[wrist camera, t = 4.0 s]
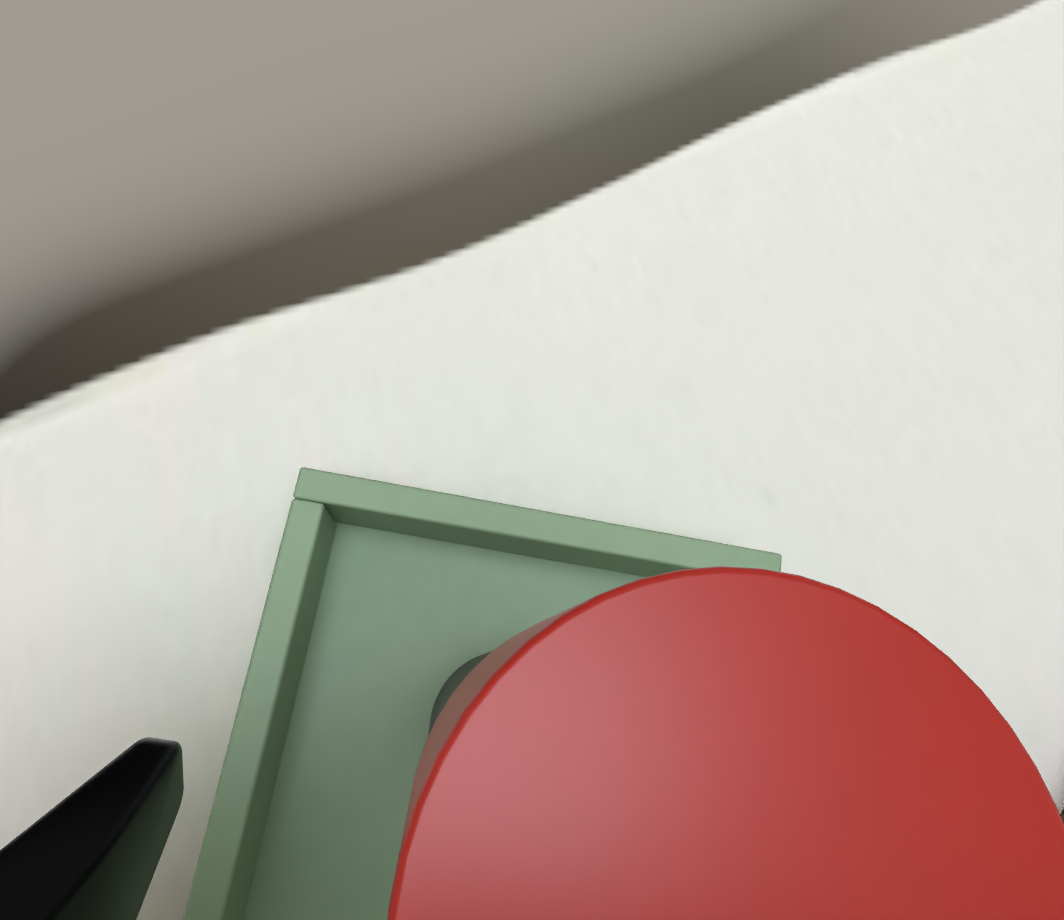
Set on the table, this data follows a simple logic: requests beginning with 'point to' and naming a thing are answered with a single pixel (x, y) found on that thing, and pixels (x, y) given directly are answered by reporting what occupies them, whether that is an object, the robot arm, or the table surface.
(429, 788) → the thermos
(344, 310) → the table surface
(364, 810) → the green tray
